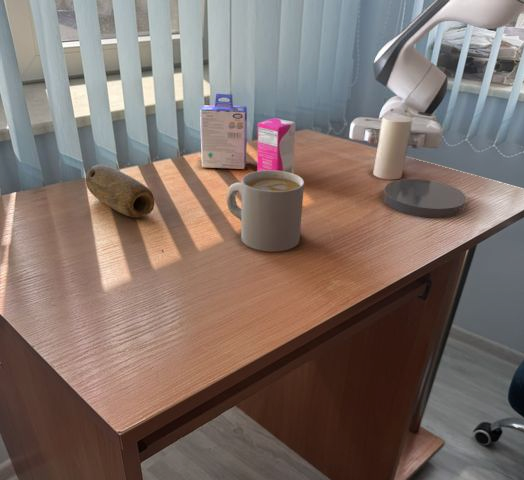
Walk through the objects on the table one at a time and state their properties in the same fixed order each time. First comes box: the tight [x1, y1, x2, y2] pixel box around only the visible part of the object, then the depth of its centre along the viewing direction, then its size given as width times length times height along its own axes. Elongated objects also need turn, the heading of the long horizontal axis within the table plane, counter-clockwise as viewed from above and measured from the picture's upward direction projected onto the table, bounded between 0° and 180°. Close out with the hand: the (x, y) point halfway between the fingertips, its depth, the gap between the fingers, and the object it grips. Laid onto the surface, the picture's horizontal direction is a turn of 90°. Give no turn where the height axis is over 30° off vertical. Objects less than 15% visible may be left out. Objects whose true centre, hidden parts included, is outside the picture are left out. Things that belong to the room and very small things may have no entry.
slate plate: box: [382, 178, 467, 219], centre depth 104 cm, size 16×16×2 cm
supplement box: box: [256, 117, 296, 174], centre depth 109 cm, size 6×6×12 cm
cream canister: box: [372, 114, 413, 180], centre depth 113 cm, size 6×6×12 cm
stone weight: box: [85, 164, 155, 218], centre depth 95 cm, size 15×7×7 cm, turn 49°
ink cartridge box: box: [199, 93, 248, 170], centre depth 114 cm, size 10×6×14 cm, turn 89°
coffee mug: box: [226, 170, 305, 252], centre depth 87 cm, size 13×10×10 cm
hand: (393, 142), depth 112 cm, fingers open, 8 cm apart
